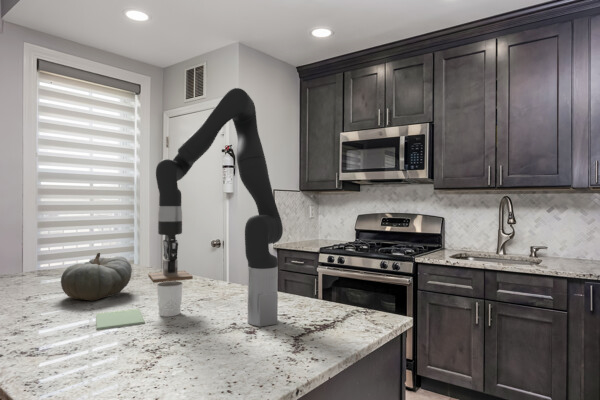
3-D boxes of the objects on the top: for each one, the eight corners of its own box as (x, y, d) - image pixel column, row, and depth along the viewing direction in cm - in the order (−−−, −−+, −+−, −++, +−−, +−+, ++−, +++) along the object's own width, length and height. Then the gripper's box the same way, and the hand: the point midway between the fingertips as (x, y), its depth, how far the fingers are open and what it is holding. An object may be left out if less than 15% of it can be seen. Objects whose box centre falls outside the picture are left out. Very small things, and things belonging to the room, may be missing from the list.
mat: (144, 323, 116) (144, 321, 116) (96, 329, 110) (96, 327, 110) (139, 310, 130) (139, 308, 130) (96, 315, 124) (96, 313, 124)
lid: (192, 279, 124) (192, 260, 124) (153, 282, 118) (153, 263, 118) (184, 273, 134) (184, 256, 135) (148, 276, 129) (148, 258, 129)
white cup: (151, 315, 125) (152, 284, 125) (170, 309, 132) (170, 280, 132) (169, 318, 121) (169, 287, 121) (187, 312, 128) (187, 282, 128)
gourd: (146, 283, 161) (139, 243, 158) (112, 309, 137) (103, 263, 134) (92, 287, 164) (84, 248, 161) (49, 313, 139) (39, 268, 137)
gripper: (186, 220, 122) (186, 274, 122) (177, 219, 135) (177, 267, 134) (162, 221, 119) (161, 276, 118) (155, 219, 131) (154, 269, 131)
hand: (170, 271), depth 126 cm, fingers closed on lid, 4 cm apart
